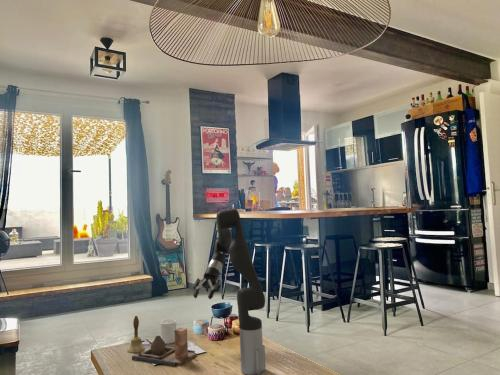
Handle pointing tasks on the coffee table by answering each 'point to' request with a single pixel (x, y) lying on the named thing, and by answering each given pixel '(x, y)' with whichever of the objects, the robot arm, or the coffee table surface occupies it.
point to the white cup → (168, 331)
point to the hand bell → (136, 339)
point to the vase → (158, 346)
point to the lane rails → (156, 360)
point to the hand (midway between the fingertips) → (202, 297)
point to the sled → (175, 349)
